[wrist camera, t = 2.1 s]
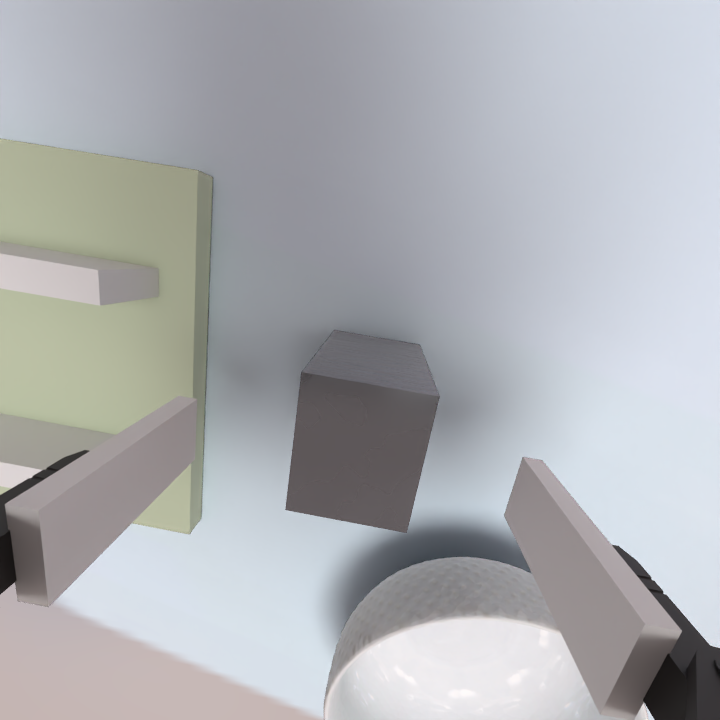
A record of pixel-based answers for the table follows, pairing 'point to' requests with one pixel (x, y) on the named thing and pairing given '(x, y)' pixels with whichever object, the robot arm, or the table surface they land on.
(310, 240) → the table surface
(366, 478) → the brushed metal block
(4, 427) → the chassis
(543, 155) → the table surface
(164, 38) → the table surface
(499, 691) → the cereal bowl
